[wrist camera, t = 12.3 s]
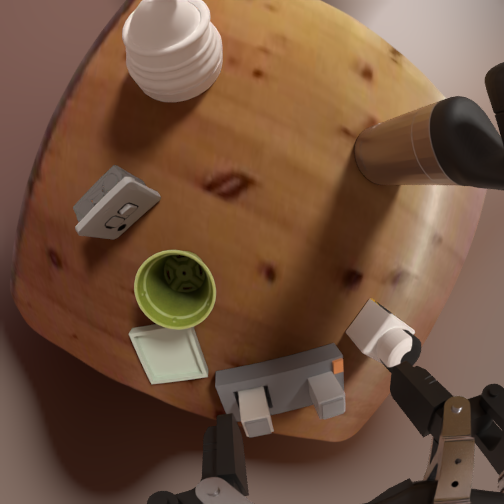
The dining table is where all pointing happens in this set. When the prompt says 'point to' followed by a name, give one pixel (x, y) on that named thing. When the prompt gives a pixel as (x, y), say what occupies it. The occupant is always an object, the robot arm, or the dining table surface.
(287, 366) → the grey peg socket block
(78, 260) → the dining table surface
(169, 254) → the plant pot
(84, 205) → the electrical switch
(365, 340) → the medicine bottle
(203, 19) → the honey pot
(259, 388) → the plug
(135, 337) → the tray
